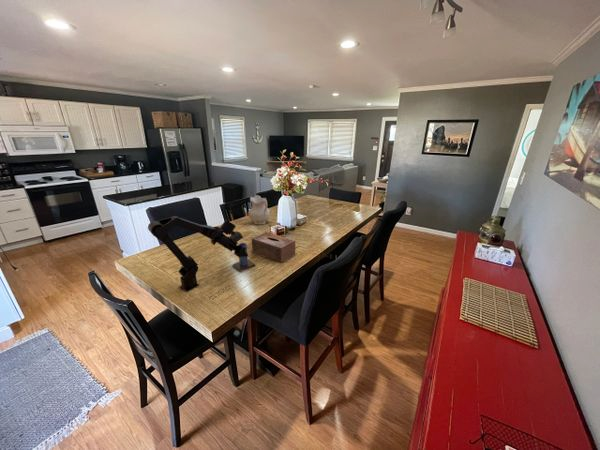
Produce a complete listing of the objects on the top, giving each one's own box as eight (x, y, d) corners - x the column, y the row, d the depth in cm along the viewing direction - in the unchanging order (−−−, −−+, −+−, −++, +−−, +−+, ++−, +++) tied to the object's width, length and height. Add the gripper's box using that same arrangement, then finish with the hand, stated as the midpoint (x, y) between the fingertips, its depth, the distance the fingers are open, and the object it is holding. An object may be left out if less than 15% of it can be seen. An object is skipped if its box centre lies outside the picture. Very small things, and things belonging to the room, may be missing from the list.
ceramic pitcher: (276, 223, 221) (276, 196, 214) (262, 227, 205) (262, 199, 198) (258, 219, 232) (258, 193, 225) (244, 223, 216) (243, 196, 209)
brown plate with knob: (240, 271, 138) (239, 265, 137) (232, 265, 145) (232, 259, 143) (255, 265, 145) (254, 259, 143) (247, 260, 151) (246, 254, 149)
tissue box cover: (252, 251, 163) (251, 238, 159) (266, 244, 174) (266, 232, 170) (281, 262, 149) (281, 248, 145) (295, 254, 160) (295, 240, 156)
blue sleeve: (245, 266, 142) (244, 246, 137) (238, 265, 143) (236, 245, 138) (249, 262, 146) (247, 243, 141) (242, 261, 147) (240, 242, 142)
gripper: (241, 233, 127) (260, 246, 137) (225, 224, 140) (243, 237, 150) (229, 251, 124) (249, 263, 135) (214, 240, 137) (233, 252, 148)
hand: (243, 253), depth 142 cm, fingers open, 9 cm apart
